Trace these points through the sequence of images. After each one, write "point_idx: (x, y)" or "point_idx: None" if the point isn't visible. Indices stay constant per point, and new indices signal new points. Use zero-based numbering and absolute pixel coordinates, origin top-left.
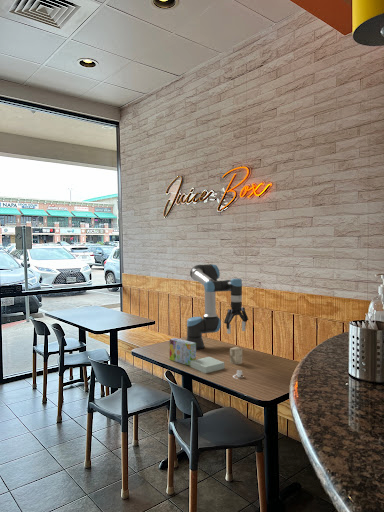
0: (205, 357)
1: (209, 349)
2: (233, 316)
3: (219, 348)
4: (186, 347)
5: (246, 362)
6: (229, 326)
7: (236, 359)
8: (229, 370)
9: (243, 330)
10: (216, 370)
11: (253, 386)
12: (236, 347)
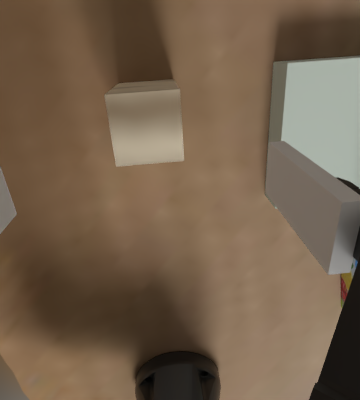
0: None
1: (138, 338)
2: (342, 378)
3: (86, 332)
4: None
5: (85, 80)
6: (339, 188)
7: (169, 82)
8: (275, 10)
9: (3, 187)
10: (334, 57)
11: None
12: (125, 153)
